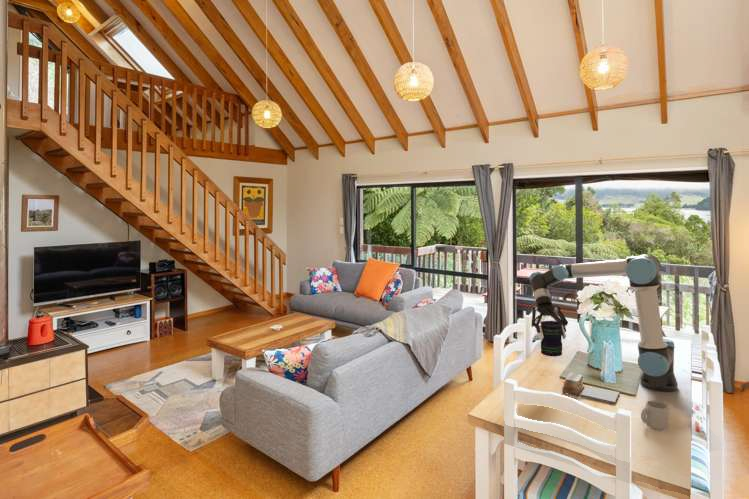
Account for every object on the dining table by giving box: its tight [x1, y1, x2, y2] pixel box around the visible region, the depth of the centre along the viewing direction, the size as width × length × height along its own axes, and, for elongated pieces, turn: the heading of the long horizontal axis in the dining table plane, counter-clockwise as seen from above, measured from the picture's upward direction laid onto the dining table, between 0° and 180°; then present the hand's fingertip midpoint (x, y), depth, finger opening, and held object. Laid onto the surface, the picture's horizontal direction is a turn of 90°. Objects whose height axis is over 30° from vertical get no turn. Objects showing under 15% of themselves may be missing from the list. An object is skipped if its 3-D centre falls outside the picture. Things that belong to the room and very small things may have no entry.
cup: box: [640, 400, 669, 431], centre depth 170 cm, size 7×10×9 cm
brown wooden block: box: [561, 372, 585, 397], centre depth 205 cm, size 7×12×6 cm, turn 142°
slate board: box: [580, 385, 620, 405], centre depth 199 cm, size 14×12×1 cm
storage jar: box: [540, 320, 563, 357], centre depth 210 cm, size 10×10×15 cm
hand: (553, 338), depth 207 cm, fingers closed on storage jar, 10 cm apart
